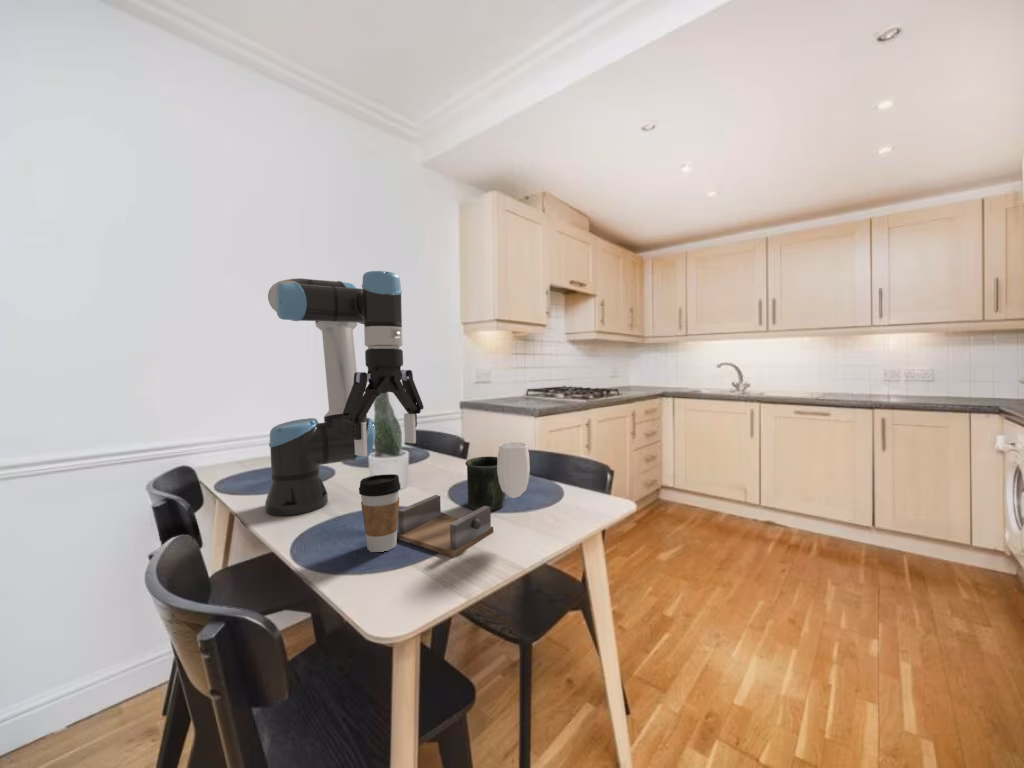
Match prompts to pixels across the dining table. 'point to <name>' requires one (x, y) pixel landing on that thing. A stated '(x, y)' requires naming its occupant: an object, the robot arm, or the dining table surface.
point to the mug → (484, 483)
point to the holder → (442, 527)
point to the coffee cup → (380, 511)
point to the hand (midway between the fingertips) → (387, 448)
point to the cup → (513, 468)
